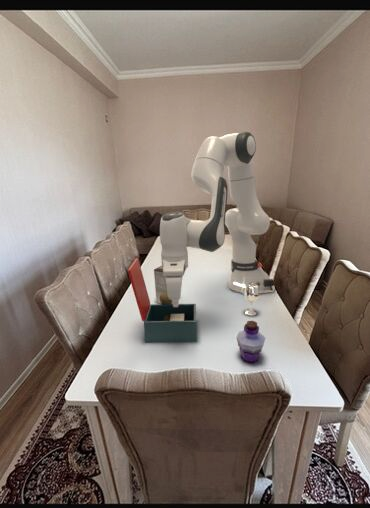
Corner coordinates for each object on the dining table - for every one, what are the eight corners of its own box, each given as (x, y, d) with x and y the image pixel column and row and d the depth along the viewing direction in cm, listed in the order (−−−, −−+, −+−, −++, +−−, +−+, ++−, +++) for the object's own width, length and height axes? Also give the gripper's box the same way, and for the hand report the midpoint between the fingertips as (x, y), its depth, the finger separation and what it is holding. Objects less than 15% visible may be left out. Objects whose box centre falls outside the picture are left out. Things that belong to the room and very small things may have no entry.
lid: (138, 257, 90) (135, 258, 90) (129, 270, 78) (127, 270, 78) (150, 303, 95) (148, 303, 95) (144, 321, 83) (142, 321, 83)
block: (184, 325, 93) (184, 313, 92) (184, 333, 88) (184, 321, 87) (171, 325, 93) (170, 313, 92) (170, 333, 89) (169, 321, 87)
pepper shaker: (173, 324, 95) (171, 298, 92) (157, 322, 97) (156, 296, 93) (176, 315, 101) (175, 291, 98) (162, 314, 102) (160, 290, 99)
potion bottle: (246, 344, 83) (248, 312, 79) (270, 357, 77) (273, 323, 73) (229, 356, 78) (230, 322, 74) (253, 371, 71) (255, 335, 68)
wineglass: (259, 316, 99) (261, 288, 95) (245, 316, 99) (246, 289, 95) (255, 309, 104) (257, 282, 101) (241, 309, 104) (243, 283, 101)
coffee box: (167, 294, 120) (165, 263, 116) (178, 297, 117) (177, 265, 112) (155, 302, 113) (153, 269, 108) (167, 305, 110) (165, 271, 105)
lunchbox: (196, 321, 97) (195, 303, 95) (196, 341, 85) (196, 321, 83) (150, 322, 97) (149, 304, 95) (145, 342, 85) (143, 322, 83)
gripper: (168, 253, 93) (169, 287, 97) (162, 273, 74) (164, 314, 78) (185, 252, 93) (186, 286, 97) (183, 272, 73) (185, 314, 78)
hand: (176, 299), depth 87 cm, fingers open, 8 cm apart
